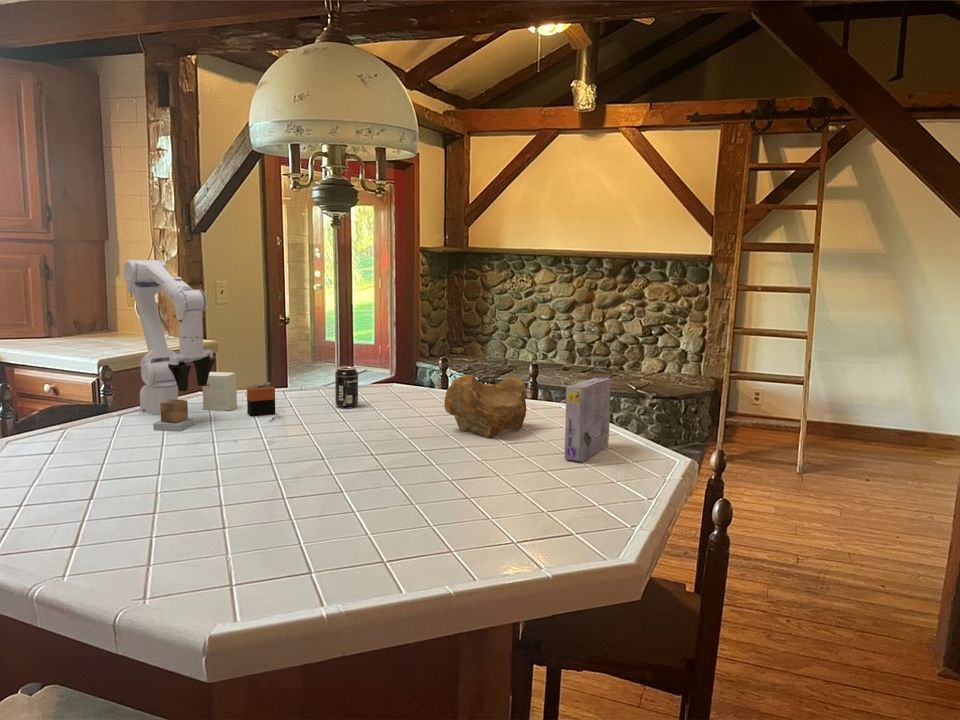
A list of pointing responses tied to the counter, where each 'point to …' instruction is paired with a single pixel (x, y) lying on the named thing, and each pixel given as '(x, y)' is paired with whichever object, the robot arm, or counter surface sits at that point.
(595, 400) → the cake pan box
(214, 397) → the small box
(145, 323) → the robot arm
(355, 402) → the beverage can
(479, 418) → the rough brown rock
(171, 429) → the gray slab
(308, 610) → the counter surface
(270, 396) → the battery
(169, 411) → the walnut block
